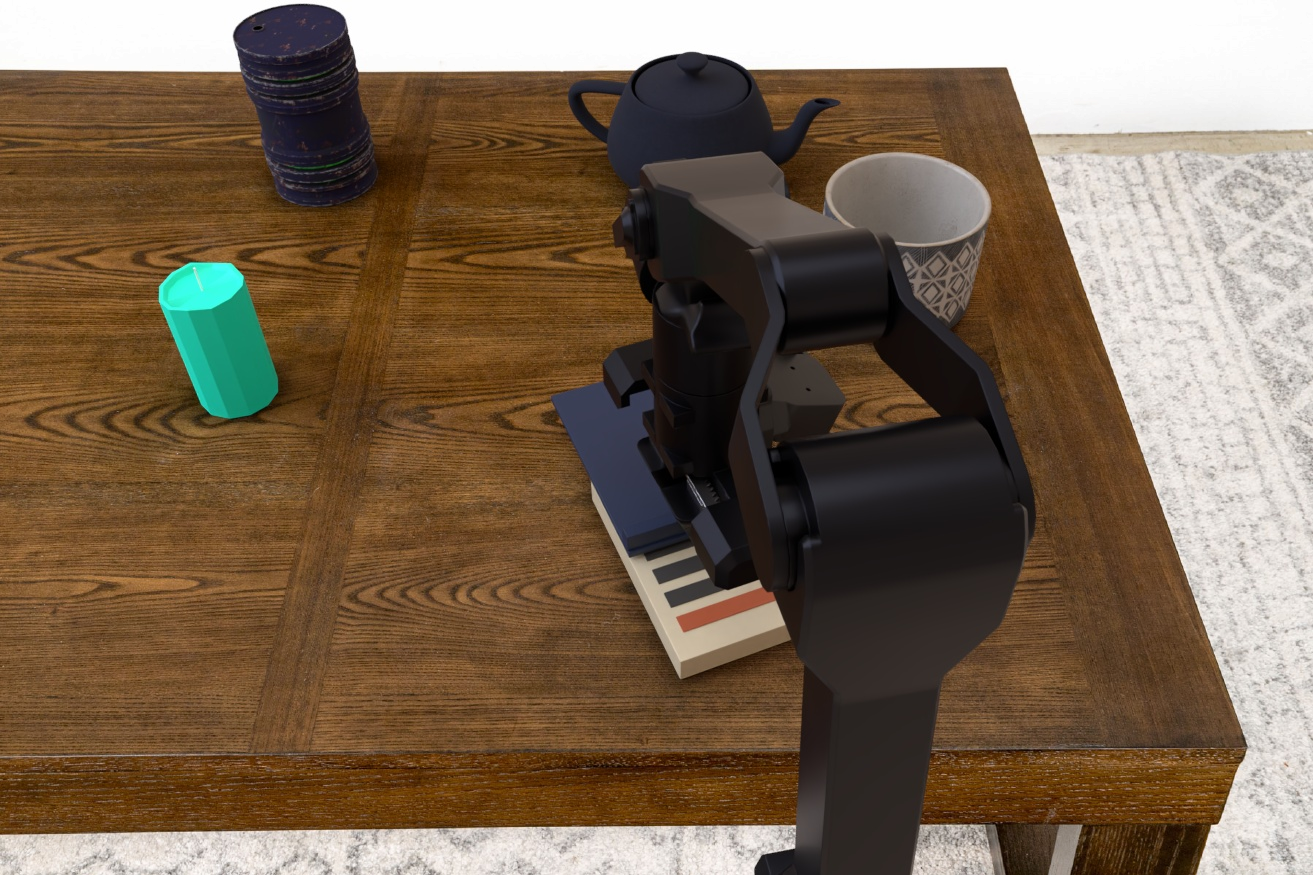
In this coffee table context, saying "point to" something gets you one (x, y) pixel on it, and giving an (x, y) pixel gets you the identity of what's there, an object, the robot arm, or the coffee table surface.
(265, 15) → the dark blue barrel
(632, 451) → the cover
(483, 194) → the coffee table surface
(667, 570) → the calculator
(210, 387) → the candle
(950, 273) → the planter
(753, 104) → the teapot
